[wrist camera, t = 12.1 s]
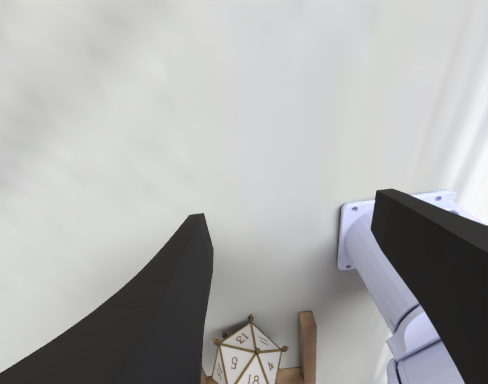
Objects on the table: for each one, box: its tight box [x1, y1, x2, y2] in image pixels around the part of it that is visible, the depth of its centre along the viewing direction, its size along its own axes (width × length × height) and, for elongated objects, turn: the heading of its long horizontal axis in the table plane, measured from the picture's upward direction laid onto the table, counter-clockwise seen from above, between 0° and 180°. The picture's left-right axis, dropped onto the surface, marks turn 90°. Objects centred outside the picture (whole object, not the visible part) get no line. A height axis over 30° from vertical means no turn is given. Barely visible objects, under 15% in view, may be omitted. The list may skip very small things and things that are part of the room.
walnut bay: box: [201, 311, 317, 384], centre depth 32 cm, size 17×14×2 cm
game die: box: [204, 314, 289, 384], centre depth 27 cm, size 9×8×10 cm
